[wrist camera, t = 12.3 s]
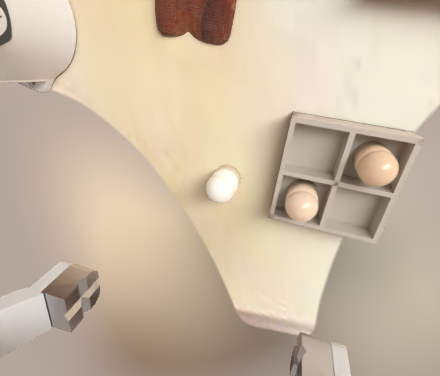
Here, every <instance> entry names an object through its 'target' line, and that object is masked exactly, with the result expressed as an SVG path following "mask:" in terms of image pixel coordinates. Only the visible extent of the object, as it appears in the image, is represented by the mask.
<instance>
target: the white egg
mask: <svg viewBox="0 0 440 376" xmlns="http://www.w3.org/2000/svg"><path fill="white" fill-rule="evenodd" d="M240 182H241V175H240V172H239V171H238V170H237V169H236V168H235V167H233V166H231V165H223V166H220V167H219V168H218V169H217V170H216V171H215V173H214V174H213V175H212V176H211V178H210V179H209V180H208V182H207V184H206V193H207V195H208V197H209V198H210V199H211V200H212V201H213V202H216V203H225V202H228V201H229V200H230V199H231V198H232V197H233V196H234V194H235V192H236V190H237V188H238V186H239V185H240Z"/></svg>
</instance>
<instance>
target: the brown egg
mask: <svg viewBox="0 0 440 376" xmlns="http://www.w3.org/2000/svg"><path fill="white" fill-rule="evenodd" d="M352 162H353V165H354V167H355V169H356V172H357V174H358V176H359V178H360V179H361V180H362V181H363V182H364V183H365V184H367V185H370V186H374V187H380V186H384V185H387V184H389V183H390V182H392V181H393V180H394V179H395V178H396V176H397V174H398V171H399V164H398V161H397V159H396V158H395V156H394V155H393V154H392V153H391V152H390V151H389V150H388V149H387V148H386V146H385V145H383V144H382V143H380V142H377V141H367V142H364V143H362V144H360V145H359V146H358V147H357V148H356V149H355V150H354V152H353V154H352Z"/></svg>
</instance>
